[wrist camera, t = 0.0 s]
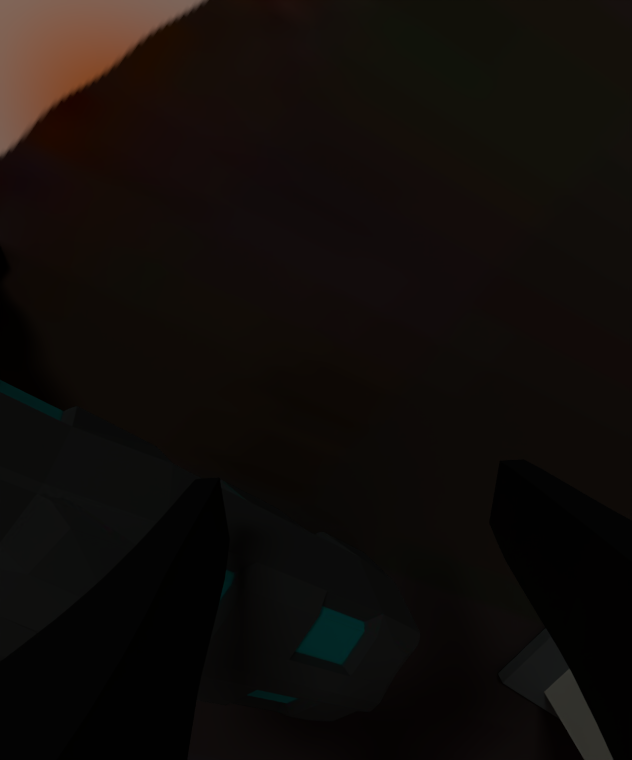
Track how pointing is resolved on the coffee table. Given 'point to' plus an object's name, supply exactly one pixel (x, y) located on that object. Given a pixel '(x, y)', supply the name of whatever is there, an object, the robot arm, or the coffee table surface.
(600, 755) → the tile
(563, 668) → the mat
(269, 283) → the coffee table surface
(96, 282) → the coffee table surface
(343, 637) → the gun
